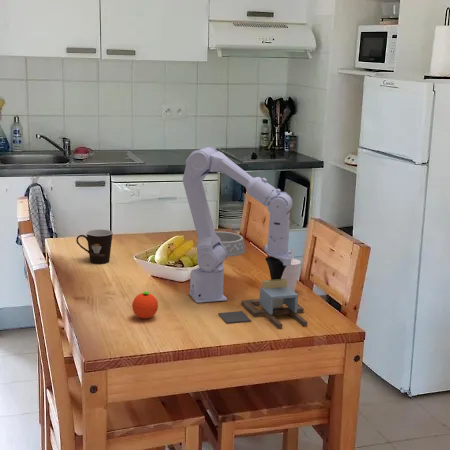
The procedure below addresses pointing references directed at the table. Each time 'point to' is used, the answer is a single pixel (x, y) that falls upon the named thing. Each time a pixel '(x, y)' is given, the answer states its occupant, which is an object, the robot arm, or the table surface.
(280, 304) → the block
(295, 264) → the smoothie
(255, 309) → the puzzle board
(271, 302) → the cover
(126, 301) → the table surface
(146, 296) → the clementine
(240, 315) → the mat
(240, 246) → the dog bowl
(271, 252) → the robot arm
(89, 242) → the coffee mug
